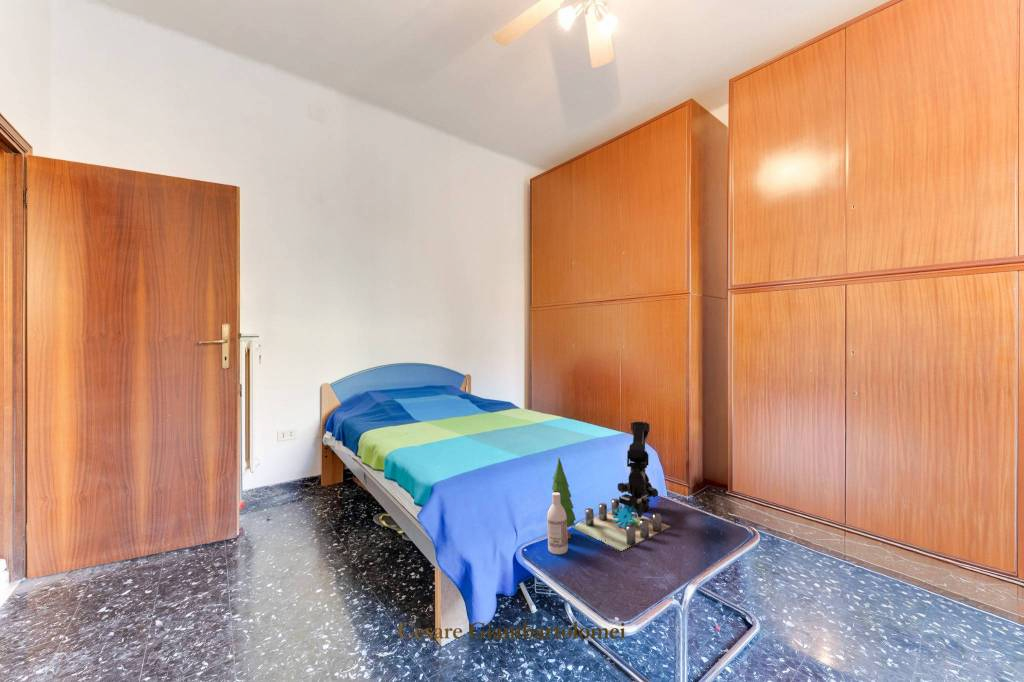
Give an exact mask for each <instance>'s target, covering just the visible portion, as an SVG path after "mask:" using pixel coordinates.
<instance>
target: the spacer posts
mask: <svg viewBox="0 0 1024 682" xmlns="http://www.w3.org/2000/svg"><path fill="white" fill-rule="evenodd" d="M610 503H611V512H612V515H614V514H615V515H616V516H618V514H617V513H616V512H615V511H614V510H615V509H617V510H618V512H619V511H620V510H619V507H618V506H620V503H619V498H611V502H610ZM607 506H608V505H607V504H606V503H603V502H600V503H598V517H599V520H601V521H607V513H608V507H607ZM584 511H585V522H586V526H589V527H592V526H594V518H595V517H594V509H593V508H591V507H590V508H585V510H584ZM651 516H652V517H651V519H652V521H653V531H654V532H660V533H662V532H663V531H662V527H661V523H662V515H661V514H660V513H657V512H656V513H655V512H653V513H652V515H651ZM640 537H641V538H643V539H646V540H648V539H650V538H649V521H648V520H647V519H640ZM626 540H627V544H628V545H630V546H632V547H634V546H636V545H637V544H636V535H635V526H633V525H627V526H626Z"/></svg>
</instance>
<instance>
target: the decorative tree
mask: <svg viewBox="0 0 1024 682" xmlns="http://www.w3.org/2000/svg"><path fill="white" fill-rule="evenodd" d="M557 458H558V459H557V465H556V469H555V472H554V475H553V478H552V480H553V483H552V488H551V490H553V492H552V493H554V492H558V493H560V503H561V505H562V507H563V508H564V510H565V512H566V516H567V540H569V538H570V539H572V535H571V533H570V532H569V531H568V528H570V527H574V525H575V526H576V524H575V521H576V520H577V519H576V515H575V512H574V511H573V509H574V504H573V503H572V500H571V498H572V494H571V492H570V489H569V487H570V485H569V483H568V481H567V480H568V479H567V477H566V474H565V472H564V469H563V464H562V461H561V459H560V457H557Z"/></svg>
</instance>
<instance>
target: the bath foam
mask: <svg viewBox="0 0 1024 682" xmlns="http://www.w3.org/2000/svg"><path fill="white" fill-rule="evenodd" d="M553 492H554V491H553ZM553 492H552V493H551V502H552V503H551V505H550V506H549V509H548V511H547V515H546V518H547V519H546V523H547V525H546V526H547V548H548V549H547V550H548V552H550V553H551V554H553V555H564V554H566V553H567V552H568V550H569V549H568V548H569V547H568V544H569V543H568V542H569V541H568V540H569V539H567V530H568V528H567V516H566V512H565V510H564V508H563V507H562V505H561V503H560V493H558V492H554V493H553Z"/></svg>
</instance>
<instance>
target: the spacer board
mask: <svg viewBox="0 0 1024 682" xmlns="http://www.w3.org/2000/svg"><path fill="white" fill-rule="evenodd" d="M622 509H623V508H622ZM622 509H621V510H622ZM619 510H620V509H619ZM632 514H637V513H636V512H632ZM632 519H634V520H638V522H639V524H638V525H639V528H638V527H637V526H635V525H633V524H631V523H630V524H631V525H633V526H635V535H636V545H638V544H640V543H641V541H642V542H644V541H646V540H645V539H643V538H641V537H640V519H647V520H648V521H649V538H648V539H650V538H652V537H654V536H656V535H657V533H658V534H660V533H659V532H654V531H653V521H652V518H649V517H646V516H643V515H642V517H638V515H637V518H635V517H634V516H632ZM614 520H618V518H613V515H612V511H610V512H607V521H601V520H599V516H597V517H594V526H592V527H589V526H586V523H584V522H582V523H583V524H582V523H579V524H577V525H575V526H574V525H573V526H571V528H572V529H573V528H574V529H573V530H575V529H576V530H575V531H577V530H578V531H577V532H579V531H580V532H579V533H581V532H582V533H581V534H583V533H584V534H583V535H585V534H586V535H585V536H587V535H589V536H591V537H593V538H595V539H597V540H600V541H601V540H602V542H604V543H605V544H604V545H606V544H607V545H606V546H608V545H610V546H612V547H614V548H615V549H614V548H613V549H614V550H616V549H617V550H616V551H618V550H619V551H618V552H620V551H622V552H624V551H626V550H628V549H630V548H632V547H631V546H630V545H628V544H627V540H626V529H623V528H622V526H623V525H624V524H622V525H621V527H620V528H619V527H618V526H617V524H620V523H621V522H618V523H617V524H615V523H614ZM627 525H628V523H627V524H626V526H627ZM661 527H662V532H663V530H664V531H666V530H668V529H670V528H671V526H670V525H668V524H665V523H663V522H661ZM669 527H670V528H669ZM667 528H668V529H667ZM665 529H666V530H665ZM589 536H588V537H589ZM591 537H590V538H591ZM593 538H592V539H593ZM595 539H594V540H595ZM597 540H596V541H597ZM605 540H606V541H605ZM613 540H614V541H613ZM643 540H644V541H643ZM639 542H640V543H639ZM637 543H638V544H637ZM610 546H609V547H610ZM612 547H611V548H612ZM629 547H630V548H629ZM627 548H628V549H627ZM625 549H626V550H625ZM623 550H624V551H623Z"/></svg>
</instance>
